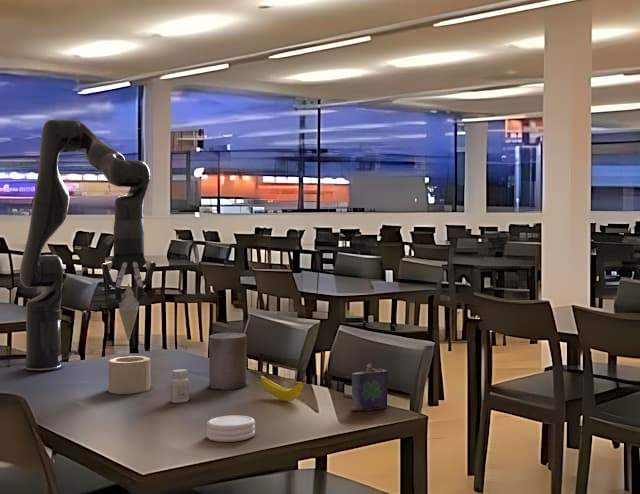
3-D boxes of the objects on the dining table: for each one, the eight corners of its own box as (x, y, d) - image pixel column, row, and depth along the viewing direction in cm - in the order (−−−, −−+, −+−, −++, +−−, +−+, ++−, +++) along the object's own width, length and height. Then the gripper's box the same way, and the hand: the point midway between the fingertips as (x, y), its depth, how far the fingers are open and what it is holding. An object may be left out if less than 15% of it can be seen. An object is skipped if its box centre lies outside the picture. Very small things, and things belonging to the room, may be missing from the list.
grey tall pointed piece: (142, 338, 253) (141, 282, 253) (133, 341, 248) (133, 284, 248) (123, 338, 254) (123, 282, 254) (114, 341, 249) (114, 284, 249)
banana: (265, 393, 247) (265, 369, 247) (309, 405, 234) (309, 379, 234) (255, 395, 245) (255, 370, 245) (299, 407, 232) (299, 380, 232)
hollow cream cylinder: (106, 388, 253) (106, 357, 253) (146, 384, 258) (146, 355, 258) (111, 395, 244) (111, 364, 244) (153, 391, 249) (153, 360, 249)
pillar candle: (242, 381, 262) (242, 327, 262) (249, 388, 254) (250, 331, 254) (205, 384, 258) (205, 329, 258) (212, 391, 250) (212, 333, 249)
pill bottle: (192, 400, 239) (192, 369, 239) (181, 403, 235) (181, 372, 235) (177, 398, 240) (177, 368, 240) (166, 402, 236) (166, 371, 236)
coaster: (241, 428, 211) (241, 412, 211) (263, 437, 203) (263, 420, 203) (198, 435, 204) (198, 419, 204) (219, 445, 196) (219, 428, 196)
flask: (354, 412, 227) (354, 366, 226) (349, 409, 229) (349, 365, 229) (389, 407, 231) (389, 363, 231) (384, 405, 234) (384, 361, 234)
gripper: (154, 235, 257) (154, 298, 258) (98, 236, 251) (98, 301, 251) (159, 236, 251) (159, 301, 251) (101, 237, 244) (101, 304, 244)
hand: (128, 301), depth 251 cm, fingers closed on grey tall pointed piece, 4 cm apart
